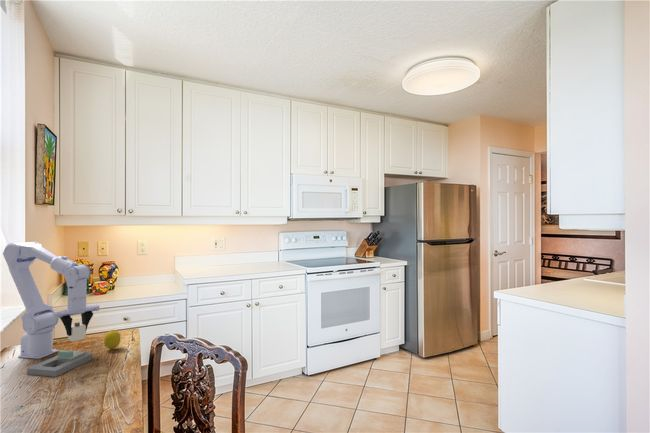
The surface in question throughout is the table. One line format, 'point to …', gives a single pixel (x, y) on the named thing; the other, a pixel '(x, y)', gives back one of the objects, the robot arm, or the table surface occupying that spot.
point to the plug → (77, 332)
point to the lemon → (112, 339)
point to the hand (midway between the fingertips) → (76, 333)
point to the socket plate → (63, 365)
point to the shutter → (69, 354)
